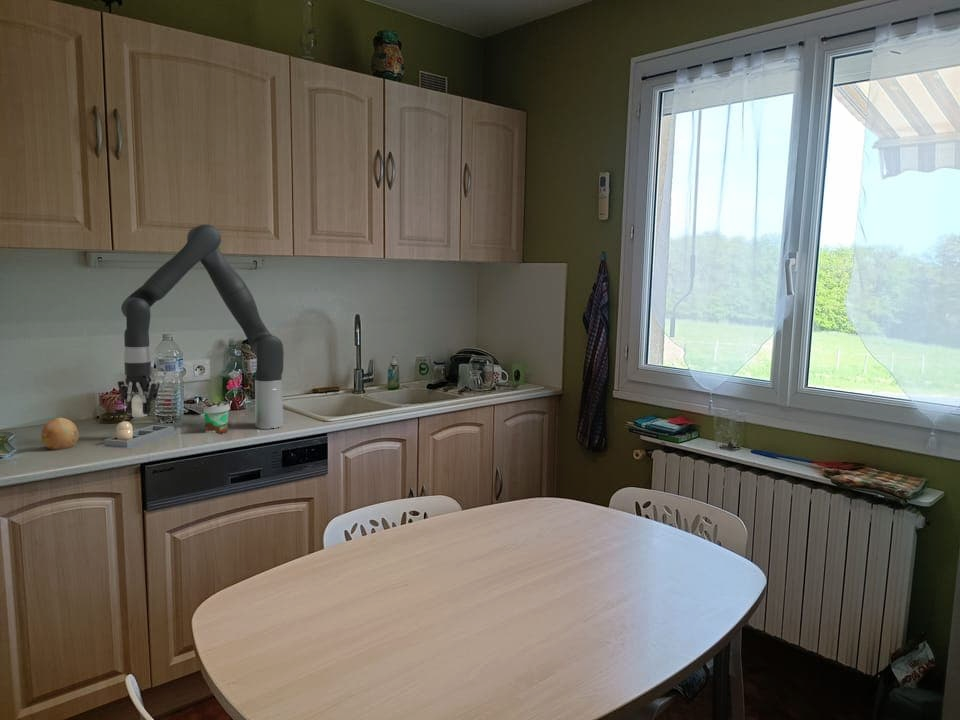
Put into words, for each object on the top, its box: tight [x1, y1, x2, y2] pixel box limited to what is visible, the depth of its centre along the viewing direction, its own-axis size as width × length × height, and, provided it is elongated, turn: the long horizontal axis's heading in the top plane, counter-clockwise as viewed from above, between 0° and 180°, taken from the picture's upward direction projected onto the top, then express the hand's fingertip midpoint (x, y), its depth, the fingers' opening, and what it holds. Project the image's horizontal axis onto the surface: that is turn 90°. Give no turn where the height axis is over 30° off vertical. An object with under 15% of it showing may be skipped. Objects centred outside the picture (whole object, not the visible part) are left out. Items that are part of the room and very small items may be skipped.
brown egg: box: [116, 420, 134, 441], centre depth 208 cm, size 4×4×7 cm
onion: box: [40, 417, 79, 451], centre depth 202 cm, size 10×10×10 cm
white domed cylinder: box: [131, 393, 148, 418], centre depth 214 cm, size 4×4×7 cm
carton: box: [97, 424, 182, 450], centre depth 215 cm, size 24×12×3 cm, turn 168°
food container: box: [203, 400, 231, 435], centre depth 229 cm, size 12×6×10 cm, turn 179°
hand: (139, 413), depth 214 cm, fingers closed on white domed cylinder, 4 cm apart
